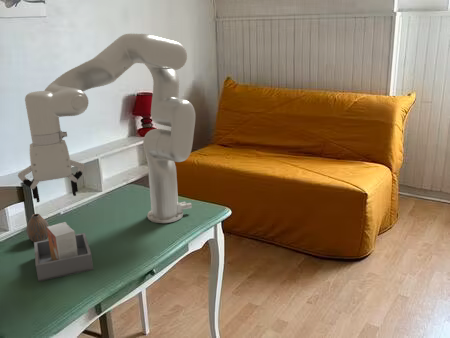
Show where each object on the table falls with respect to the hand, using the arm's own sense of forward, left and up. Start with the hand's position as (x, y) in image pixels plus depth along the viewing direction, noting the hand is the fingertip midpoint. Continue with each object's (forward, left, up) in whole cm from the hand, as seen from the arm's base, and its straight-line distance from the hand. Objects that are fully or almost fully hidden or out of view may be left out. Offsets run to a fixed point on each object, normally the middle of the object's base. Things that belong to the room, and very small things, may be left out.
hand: (56, 197), depth 129 cm
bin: (+1, +1, -20) cm, 20 cm away
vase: (+7, -18, -21) cm, 28 cm away
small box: (0, +1, -20) cm, 20 cm away
